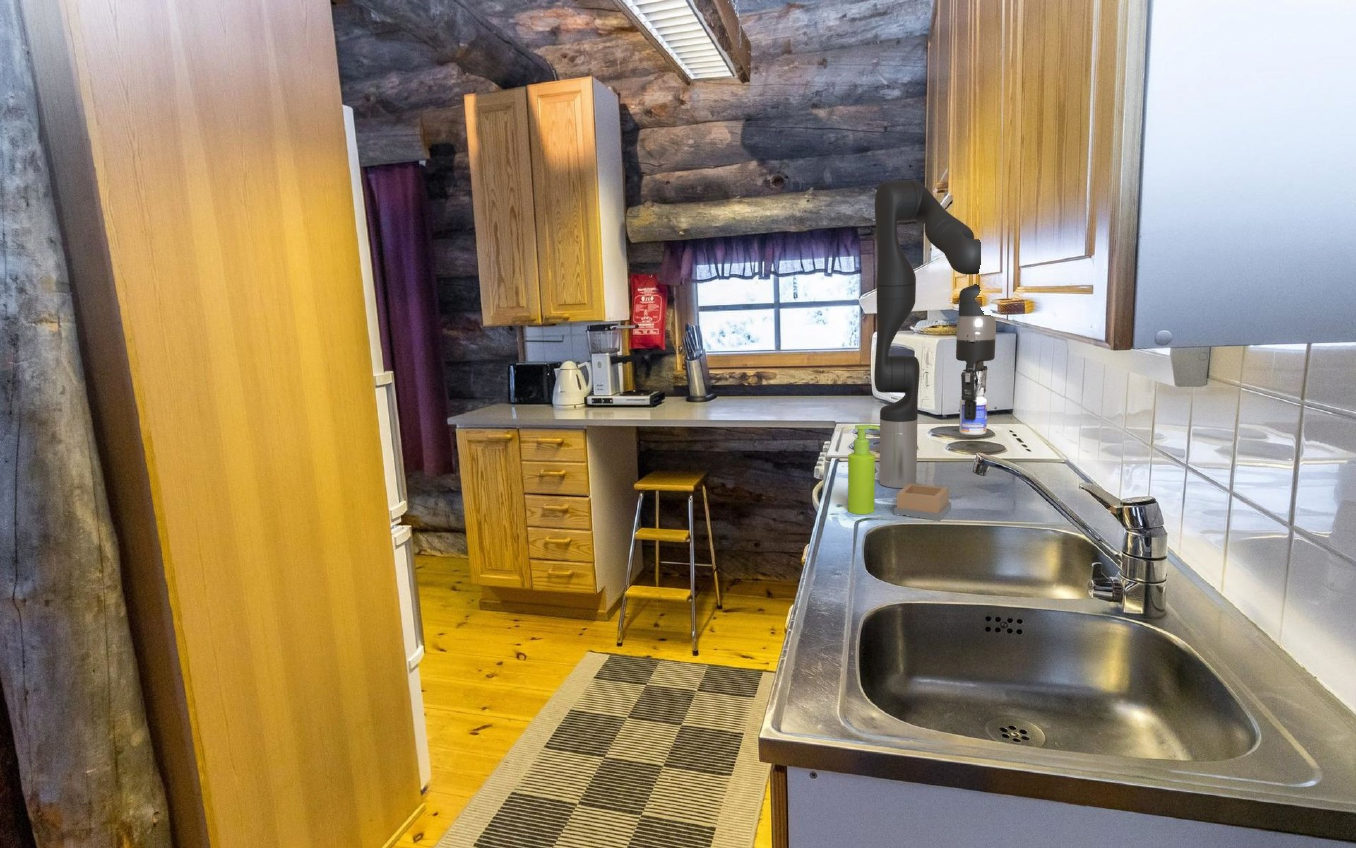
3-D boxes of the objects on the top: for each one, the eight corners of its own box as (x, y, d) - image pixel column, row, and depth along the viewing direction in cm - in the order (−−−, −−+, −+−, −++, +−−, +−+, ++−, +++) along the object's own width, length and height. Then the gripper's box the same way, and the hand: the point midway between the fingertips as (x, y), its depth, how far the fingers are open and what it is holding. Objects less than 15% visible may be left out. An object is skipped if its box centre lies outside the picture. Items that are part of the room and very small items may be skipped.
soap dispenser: (880, 514, 157) (880, 427, 154) (848, 514, 159) (848, 427, 155) (878, 507, 163) (878, 422, 159) (847, 506, 164) (847, 423, 161)
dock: (906, 503, 165) (907, 482, 164) (951, 508, 159) (951, 487, 158) (893, 514, 157) (894, 493, 156) (940, 521, 151) (940, 498, 150)
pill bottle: (990, 434, 147) (992, 389, 145) (965, 436, 147) (966, 390, 145) (979, 430, 152) (981, 385, 150) (954, 431, 152) (956, 386, 150)
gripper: (964, 335, 154) (962, 410, 157) (948, 340, 142) (946, 421, 145) (1001, 334, 149) (998, 412, 152) (988, 340, 138) (985, 424, 141)
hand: (973, 416), depth 149 cm, fingers closed on pill bottle, 5 cm apart
